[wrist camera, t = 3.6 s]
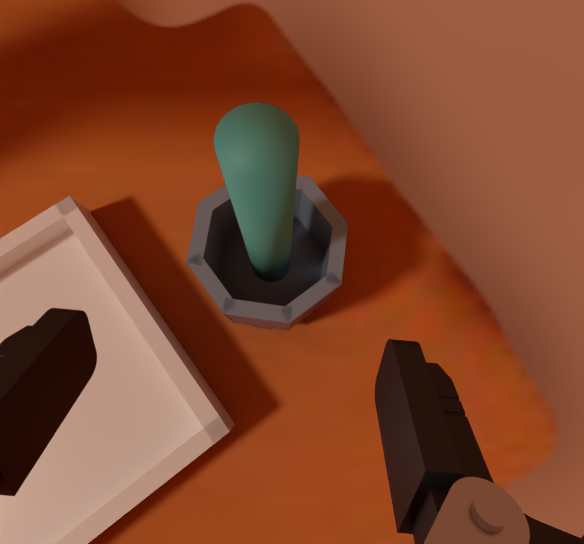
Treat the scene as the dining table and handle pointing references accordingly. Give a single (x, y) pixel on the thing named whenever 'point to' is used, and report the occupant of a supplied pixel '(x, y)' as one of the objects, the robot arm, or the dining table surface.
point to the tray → (100, 384)
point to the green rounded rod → (261, 181)
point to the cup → (238, 270)
